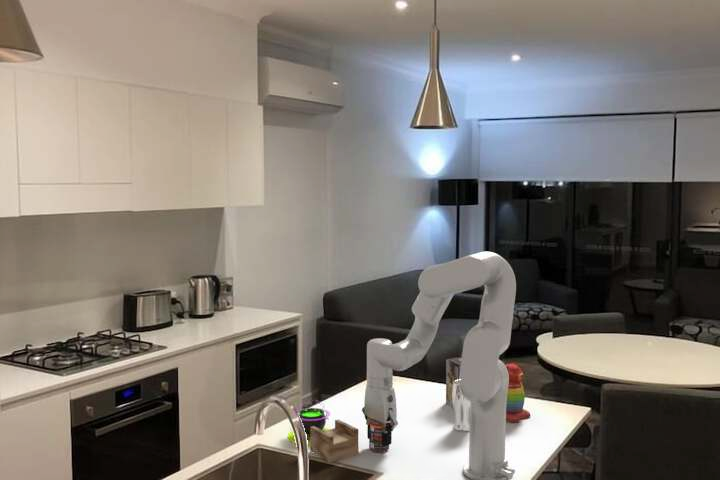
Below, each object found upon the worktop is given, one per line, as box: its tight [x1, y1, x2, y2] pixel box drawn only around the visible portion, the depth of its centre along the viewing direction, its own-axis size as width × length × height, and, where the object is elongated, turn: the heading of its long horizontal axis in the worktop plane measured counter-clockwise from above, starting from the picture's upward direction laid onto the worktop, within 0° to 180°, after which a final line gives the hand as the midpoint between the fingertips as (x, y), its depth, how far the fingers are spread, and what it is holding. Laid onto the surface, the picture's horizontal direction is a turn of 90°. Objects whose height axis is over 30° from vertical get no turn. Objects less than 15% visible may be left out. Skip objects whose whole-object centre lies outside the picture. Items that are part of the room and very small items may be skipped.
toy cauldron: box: [287, 399, 332, 446], centre depth 205 cm, size 15×15×11 cm
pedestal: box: [309, 419, 359, 463], centre depth 192 cm, size 10×10×7 cm
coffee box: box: [445, 356, 462, 407], centre depth 233 cm, size 9×6×16 cm
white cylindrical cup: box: [452, 380, 470, 433], centre depth 212 cm, size 7×7×15 cm
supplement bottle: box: [368, 418, 390, 454], centre depth 195 cm, size 6×6×11 cm
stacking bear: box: [505, 362, 531, 424], centre depth 223 cm, size 11×10×18 cm
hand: (379, 440), depth 195 cm, fingers closed on supplement bottle, 6 cm apart
